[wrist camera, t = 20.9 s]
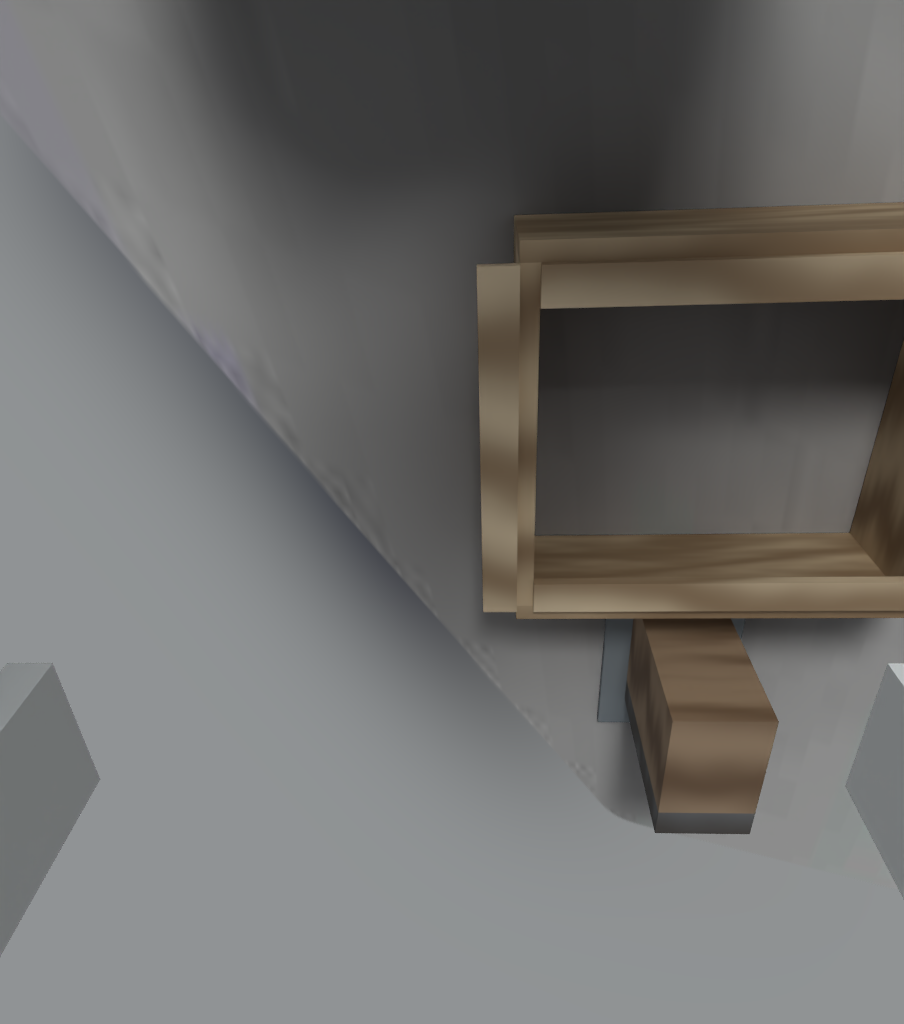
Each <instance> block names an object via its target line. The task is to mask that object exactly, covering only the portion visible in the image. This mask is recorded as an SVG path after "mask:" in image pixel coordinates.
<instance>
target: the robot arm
mask: <svg viewBox="0 0 904 1024" xmlns="http://www.w3.org/2000/svg"><path fill="white" fill-rule="evenodd" d="M99 780H100V778H99V775H98V773H97V770H96V768H95V766H94V763H93V761H92V759H91V756H90V753H89V751H88V748H87V746H86V744H85V741H84V739H83V736H82V734H81V731H80V729H79V726H78V724H77V722H76V719H75V717H74V714H73V712H72V709H71V707H70V705H69V702H68V700H67V697H66V695H65V692H64V690H63V687H62V685H61V683H60V680H59V678H58V675H57V673H56V670H55V668H54V666H53V663H7V664H6V665H5V666H4V667H3V669H2V670H1V671H0V956H1V954H2V952H3V951H4V949H5V947H6V945H7V943H8V942H9V940H10V938H11V936H12V935H13V933H14V931H15V929H16V927H17V926H18V924H19V922H20V920H21V919H22V917H23V915H24V913H25V912H26V910H27V908H28V906H29V905H30V903H31V901H32V899H33V897H34V896H35V894H36V892H37V890H38V888H39V887H40V885H41V883H42V881H43V880H44V878H45V876H46V874H47V873H48V871H49V869H50V867H51V866H52V864H53V862H54V860H55V858H56V857H57V855H58V853H59V851H60V850H61V848H62V846H63V844H64V842H65V841H66V839H67V837H68V835H69V834H70V832H71V830H72V828H73V826H74V825H75V823H76V821H77V819H78V817H79V816H80V814H81V812H82V810H83V809H84V807H85V805H86V803H87V802H88V800H89V798H90V796H91V794H92V793H93V791H94V789H95V787H96V785H97V784H98V782H99ZM846 788H847V790H848V792H849V794H850V796H851V798H852V800H853V802H854V804H855V806H856V808H857V810H858V812H859V813H860V815H861V817H862V819H863V821H864V823H865V825H866V827H867V829H868V831H869V833H870V835H871V837H872V839H873V841H874V842H875V844H876V846H877V848H878V850H879V852H880V854H881V856H882V858H883V860H884V862H885V864H886V866H887V868H888V870H889V871H890V873H891V875H892V877H893V879H894V881H895V883H896V885H897V887H898V889H899V891H900V893H901V894H902V897H903V898H904V664H887V667H886V670H885V673H884V676H883V679H882V682H881V685H880V688H879V690H878V693H877V696H876V699H875V702H874V705H873V708H872V711H871V714H870V716H869V719H868V722H867V725H866V728H865V731H864V734H863V737H862V740H861V742H860V745H859V748H858V751H857V754H856V757H855V760H854V763H853V766H852V768H851V771H850V774H849V777H848V780H847V783H846Z"/></svg>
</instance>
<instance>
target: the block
mask: <svg viewBox="0 0 904 1024" xmlns="http://www.w3.org/2000/svg"><path fill="white" fill-rule="evenodd" d="M625 703H626V707H627V712H628V716H629V721H630V725H631V729H632V734H633V738H634V742H635V747H636V751H637V756H638V760H639V764H640V769H641V773H642V778H643V782H644V786H645V791H646V795H647V800H648V804H649V808H650V813H651V817H652V822H653V826H654V830H655V833H704V834H750V831H751V827H752V823H753V819H754V815H755V811H756V808H757V804H758V800H759V796H760V792H761V788H762V785H763V781H764V777H765V773H766V769H767V765H768V761H769V758H770V754H771V750H772V746H773V742H774V738H775V734H776V731H777V727H778V723H779V721H778V719H777V717H776V715H775V713H774V711H773V708H772V706H771V704H770V702H769V700H768V698H767V696H766V693H765V691H764V689H763V687H762V685H761V683H760V681H759V678H758V676H757V674H756V672H755V670H754V668H753V665H752V663H751V661H750V659H749V657H748V655H747V653H746V650H745V648H744V646H743V644H742V642H741V640H740V637H739V635H738V633H737V631H736V629H735V627H734V625H733V622H732V620H731V618H666V619H633V627H632V636H631V645H630V654H629V663H628V672H627V682H626V691H625Z"/></svg>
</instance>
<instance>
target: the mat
mask: <svg viewBox="0 0 904 1024" xmlns="http://www.w3.org/2000/svg"><path fill="white" fill-rule="evenodd" d="M745 619H746V618H731V620H732V622H733V625H734V627H735V629H736V631H737V633H738V635H739V637H740V640H741V638H742V633H743V628H744V624H745ZM632 627H633V619H606V623H605V635H604V646H603V658H602V669H601V680H600V692H599V703H598V715H597V719H598V722H630V721H629V716H628V712H627V707H626V703H625V691H626V682H627V672H628V663H629V654H630V645H631V636H632Z"/></svg>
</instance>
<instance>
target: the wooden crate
mask: <svg viewBox="0 0 904 1024" xmlns="http://www.w3.org/2000/svg"><path fill="white" fill-rule="evenodd" d="M899 299H904V202H898V203H868V204H838V205H808V206H777V207H747V208H717V209H687V210H656V211H626V212H596V213H566V214H535V215H514V263H504V264H477V310H478V363H479V416H480V469H481V522H482V574H483V612H516V619H666V618H904V340H903V344H902V347H901V351H900V355H899V358H898V362H897V365H896V369H895V372H894V376H893V380H892V383H891V387H890V390H889V394H888V398H887V401H886V405H885V408H884V412H883V416H882V419H881V423H880V426H879V430H878V433H877V437H876V441H875V444H874V448H873V451H872V455H871V459H870V462H869V466H868V469H867V473H866V476H865V480H864V484H863V487H862V491H861V494H860V498H859V502H858V505H857V509H856V512H855V516H854V520H853V523H852V527H851V530H850V533H781V534H671V535H562V536H535V498H536V456H537V414H538V373H539V331H540V307H541V309H553V308H592V307H630V306H668V305H707V304H745V303H784V302H822V301H861V300H899Z"/></svg>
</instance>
